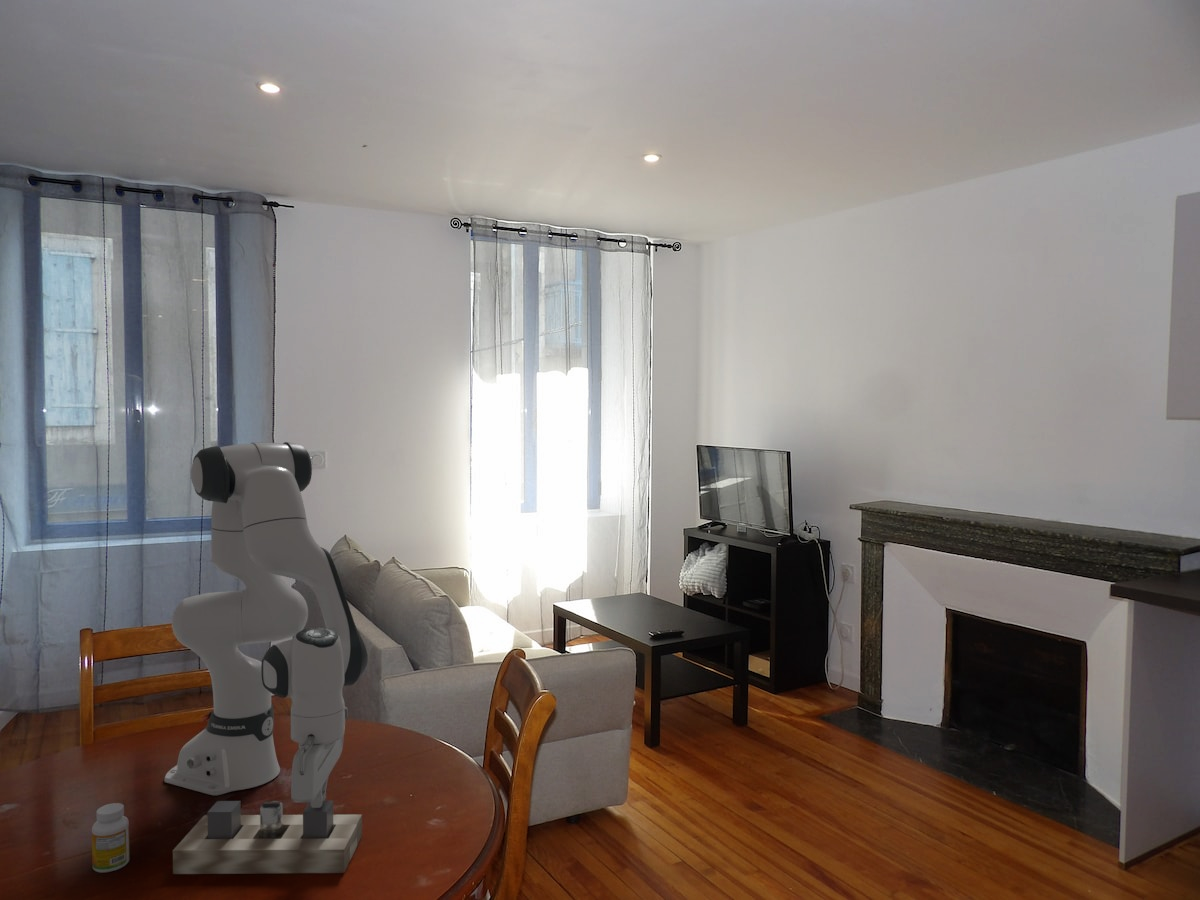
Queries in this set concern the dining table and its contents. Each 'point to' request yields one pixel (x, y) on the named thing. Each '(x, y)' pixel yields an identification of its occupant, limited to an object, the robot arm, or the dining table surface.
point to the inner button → (224, 820)
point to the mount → (268, 848)
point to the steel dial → (271, 820)
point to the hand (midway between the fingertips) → (318, 804)
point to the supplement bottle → (110, 838)
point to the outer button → (318, 821)
